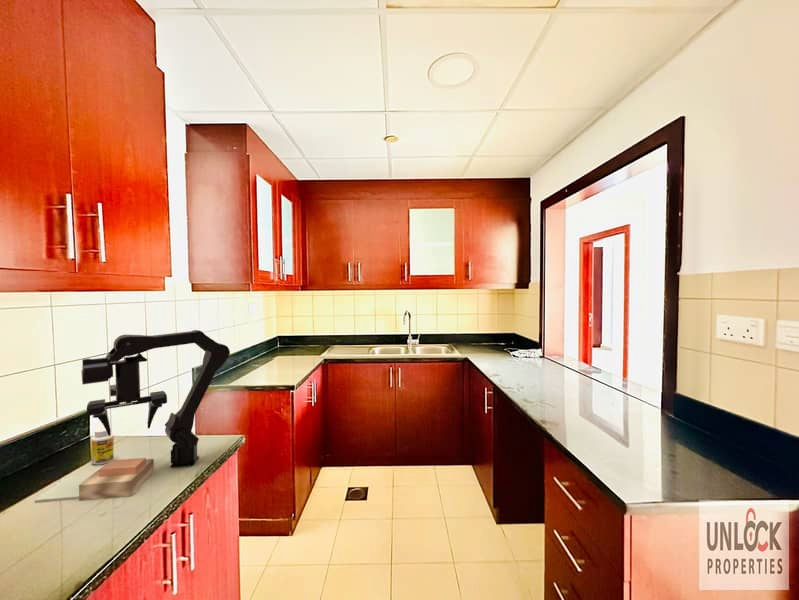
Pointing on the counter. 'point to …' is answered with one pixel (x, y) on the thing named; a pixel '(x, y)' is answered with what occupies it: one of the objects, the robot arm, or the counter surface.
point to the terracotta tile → (122, 467)
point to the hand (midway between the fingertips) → (129, 431)
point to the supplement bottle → (102, 447)
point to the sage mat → (63, 490)
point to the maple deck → (114, 484)
